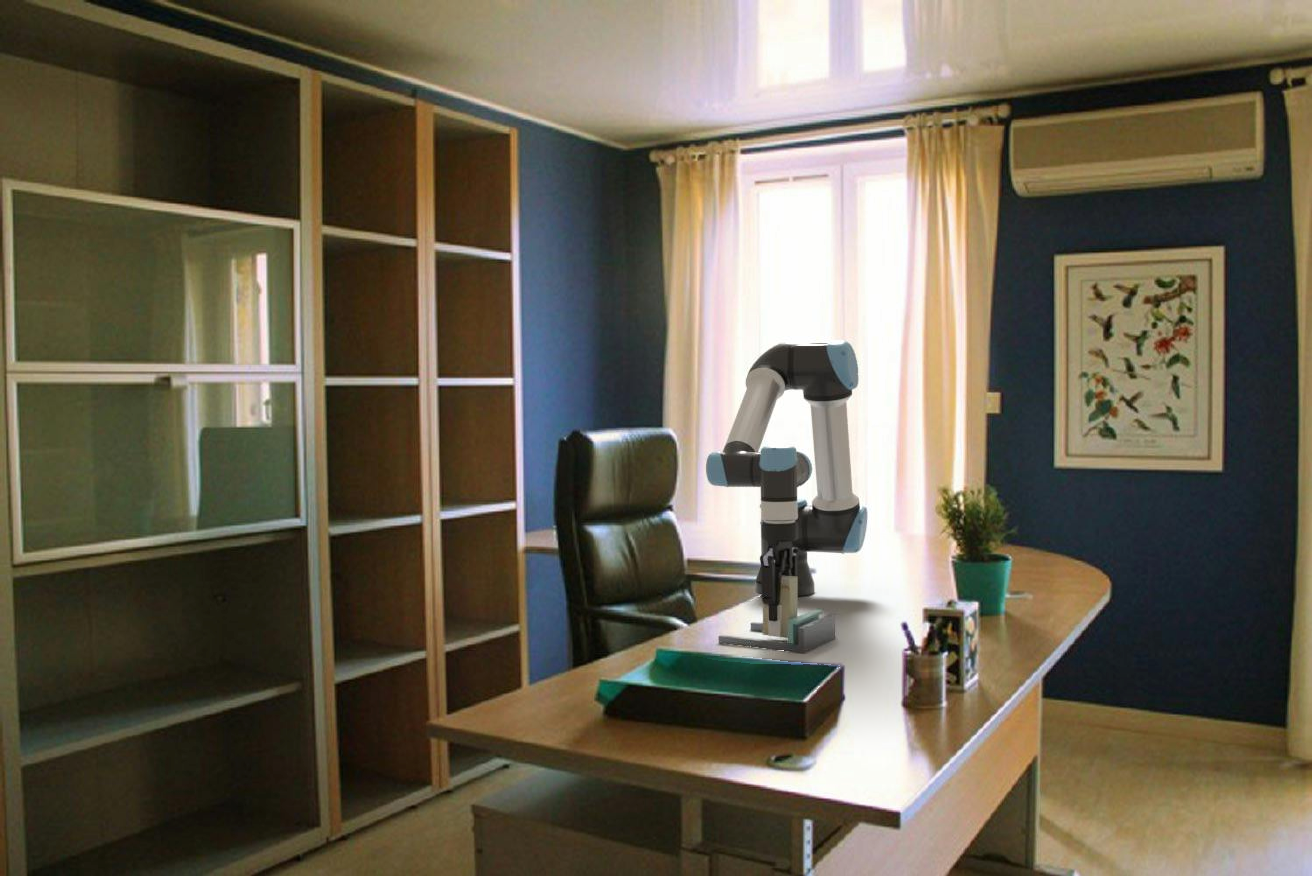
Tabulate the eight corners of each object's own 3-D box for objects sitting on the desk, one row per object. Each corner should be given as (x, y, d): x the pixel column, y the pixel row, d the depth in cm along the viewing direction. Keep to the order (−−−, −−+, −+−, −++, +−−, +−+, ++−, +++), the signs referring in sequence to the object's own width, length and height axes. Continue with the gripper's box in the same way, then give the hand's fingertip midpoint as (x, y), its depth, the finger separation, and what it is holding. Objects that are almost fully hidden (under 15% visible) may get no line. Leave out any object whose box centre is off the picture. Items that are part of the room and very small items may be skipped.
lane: (753, 628, 244) (753, 606, 244) (835, 638, 234) (835, 614, 234) (718, 643, 231) (718, 619, 231) (804, 653, 221) (803, 628, 221)
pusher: (807, 635, 236) (806, 608, 236) (823, 637, 234) (823, 610, 234) (780, 647, 225) (780, 619, 225) (797, 649, 223) (797, 621, 223)
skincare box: (762, 635, 232) (761, 577, 231) (771, 631, 236) (770, 573, 235) (790, 638, 229) (789, 579, 228) (799, 633, 233) (798, 575, 232)
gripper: (781, 515, 240) (782, 623, 242) (743, 525, 226) (744, 640, 227) (813, 517, 236) (814, 627, 238) (776, 527, 222) (778, 644, 223)
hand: (780, 633), depth 232 cm, fingers closed on skincare box, 4 cm apart
